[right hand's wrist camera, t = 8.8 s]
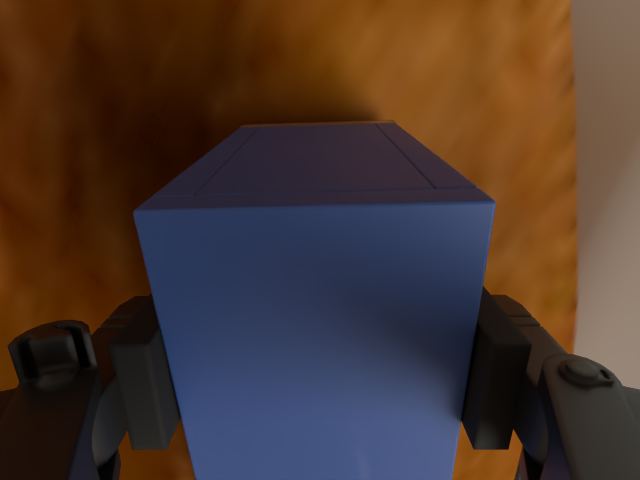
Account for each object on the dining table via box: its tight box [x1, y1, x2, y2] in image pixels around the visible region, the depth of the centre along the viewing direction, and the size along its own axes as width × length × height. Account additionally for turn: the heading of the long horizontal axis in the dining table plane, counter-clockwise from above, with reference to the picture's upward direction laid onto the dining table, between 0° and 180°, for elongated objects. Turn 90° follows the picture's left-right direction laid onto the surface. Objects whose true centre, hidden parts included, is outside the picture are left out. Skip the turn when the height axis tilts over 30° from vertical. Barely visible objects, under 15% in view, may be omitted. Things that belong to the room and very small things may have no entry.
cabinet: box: [133, 120, 496, 480], centre depth 16 cm, size 17×7×11 cm, turn 2°
